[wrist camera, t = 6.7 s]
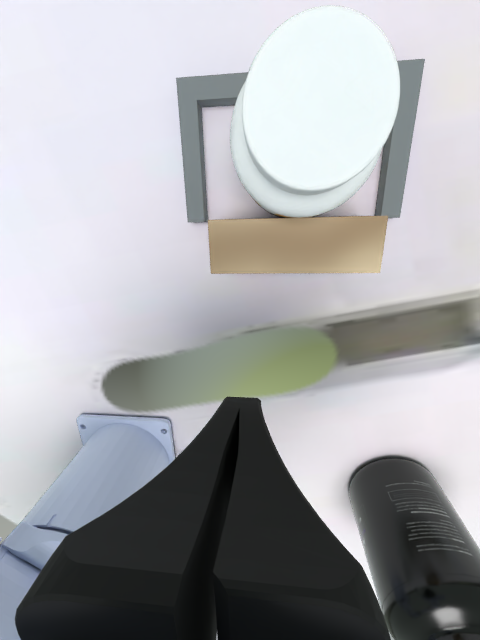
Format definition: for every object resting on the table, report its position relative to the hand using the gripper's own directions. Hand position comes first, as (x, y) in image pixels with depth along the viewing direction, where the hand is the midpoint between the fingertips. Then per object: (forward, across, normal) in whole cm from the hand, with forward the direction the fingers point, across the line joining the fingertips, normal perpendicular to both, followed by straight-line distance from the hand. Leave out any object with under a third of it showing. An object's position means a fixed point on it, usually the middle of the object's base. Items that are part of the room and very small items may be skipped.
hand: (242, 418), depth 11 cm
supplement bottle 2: (+10, -11, +14) cm, 20 cm away
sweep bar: (+9, -2, -6) cm, 11 cm away
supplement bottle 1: (+10, -2, -10) cm, 14 cm away
